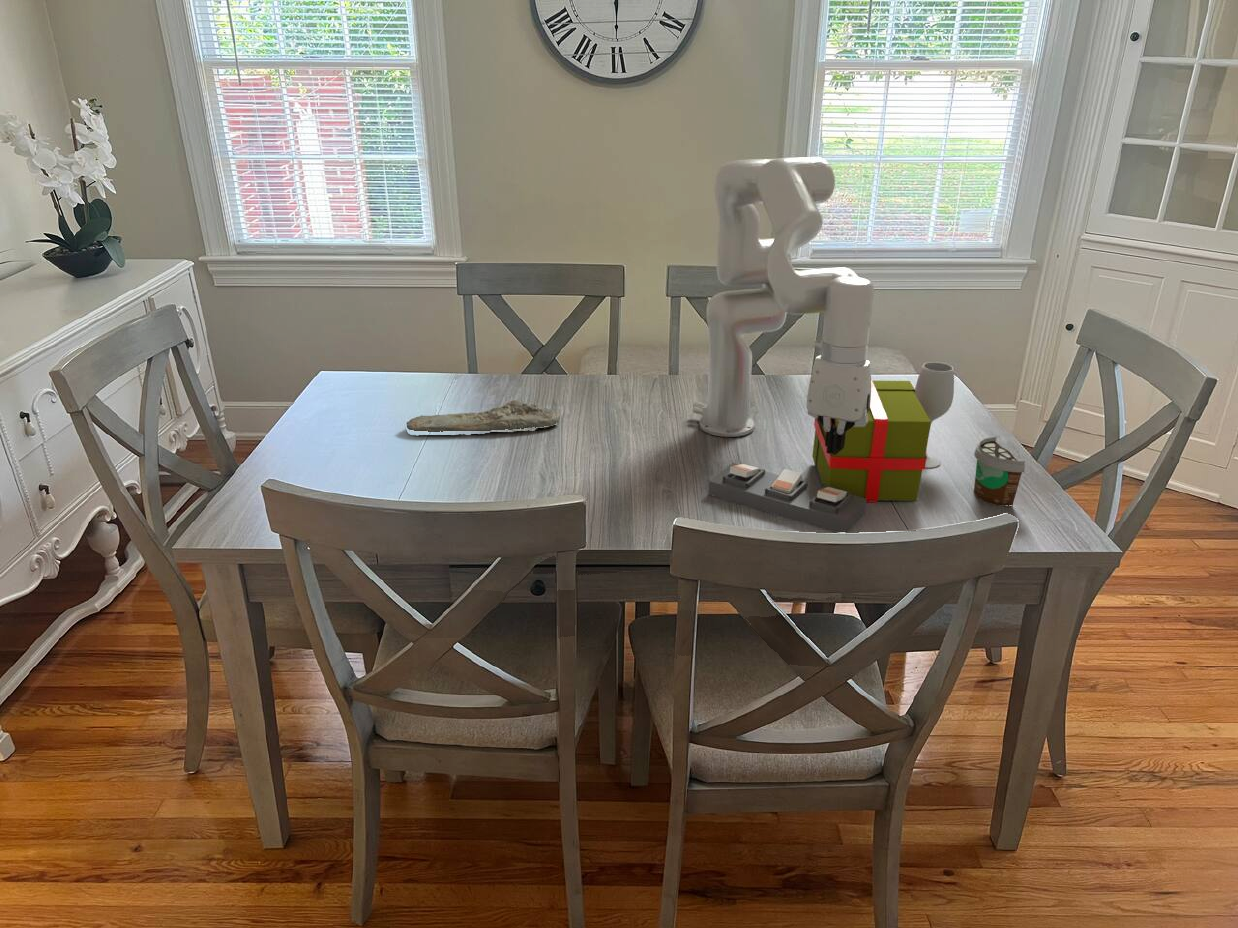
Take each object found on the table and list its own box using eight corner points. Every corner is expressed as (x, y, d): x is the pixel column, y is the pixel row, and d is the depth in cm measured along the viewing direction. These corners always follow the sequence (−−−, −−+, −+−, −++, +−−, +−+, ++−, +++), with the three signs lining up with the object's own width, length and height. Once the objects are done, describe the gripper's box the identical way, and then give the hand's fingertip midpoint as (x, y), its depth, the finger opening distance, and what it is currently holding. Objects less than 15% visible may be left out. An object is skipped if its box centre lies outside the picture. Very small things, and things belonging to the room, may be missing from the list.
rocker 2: (771, 490, 167) (771, 485, 166) (784, 473, 171) (784, 468, 170) (789, 495, 165) (789, 490, 164) (802, 478, 169) (801, 472, 168)
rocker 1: (729, 472, 171) (730, 466, 171) (741, 469, 175) (743, 463, 175) (746, 477, 169) (747, 470, 169) (758, 474, 174) (759, 467, 173)
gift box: (912, 519, 171) (884, 456, 192) (951, 425, 160) (917, 370, 182) (809, 500, 170) (792, 439, 191) (842, 405, 159) (820, 351, 181)
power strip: (708, 494, 173) (709, 476, 171) (732, 475, 180) (733, 458, 179) (845, 534, 159) (847, 515, 157) (864, 512, 166) (867, 493, 164)
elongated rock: (409, 429, 206) (406, 449, 198) (405, 409, 204) (402, 428, 195) (558, 414, 210) (562, 432, 201) (556, 393, 207) (560, 411, 199)
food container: (956, 482, 178) (964, 436, 173) (986, 481, 178) (995, 435, 174) (984, 511, 167) (994, 463, 162) (1016, 510, 167) (1026, 462, 163)
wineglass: (922, 471, 182) (938, 375, 173) (896, 457, 188) (910, 364, 179) (949, 464, 185) (966, 369, 176) (922, 450, 191) (937, 358, 182)
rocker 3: (816, 497, 162) (818, 490, 161) (827, 492, 166) (828, 486, 166) (835, 502, 160) (836, 495, 160) (845, 497, 164) (847, 490, 164)
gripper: (793, 350, 150) (786, 449, 158) (879, 365, 142) (867, 468, 150) (811, 339, 156) (803, 436, 163) (895, 353, 148) (882, 453, 155)
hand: (834, 451), depth 157 cm, fingers closed
